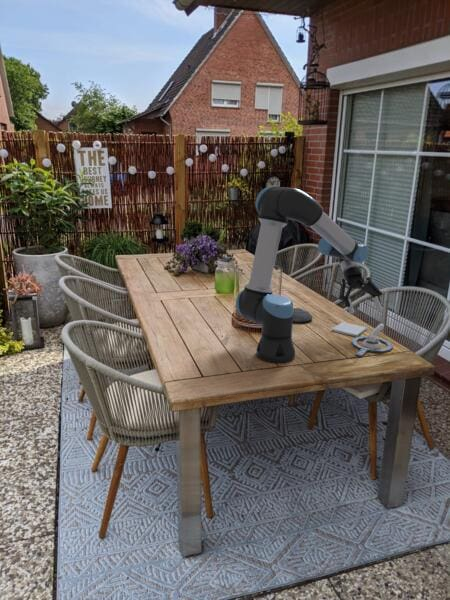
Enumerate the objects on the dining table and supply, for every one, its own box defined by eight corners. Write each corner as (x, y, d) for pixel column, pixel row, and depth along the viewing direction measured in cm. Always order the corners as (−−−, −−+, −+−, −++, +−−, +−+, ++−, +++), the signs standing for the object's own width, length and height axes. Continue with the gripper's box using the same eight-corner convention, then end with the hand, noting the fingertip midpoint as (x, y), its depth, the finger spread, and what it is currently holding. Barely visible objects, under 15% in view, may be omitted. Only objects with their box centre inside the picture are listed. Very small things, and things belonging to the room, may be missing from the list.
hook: (397, 337, 182) (386, 329, 179) (376, 357, 186) (365, 350, 183) (389, 327, 188) (378, 319, 185) (369, 347, 192) (358, 339, 190)
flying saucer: (287, 312, 228) (287, 302, 226) (315, 317, 222) (316, 306, 220) (277, 321, 215) (277, 310, 213) (307, 326, 209) (308, 315, 207)
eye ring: (378, 361, 171) (378, 359, 171) (339, 351, 180) (339, 349, 180) (397, 344, 188) (397, 342, 188) (360, 335, 198) (360, 333, 197)
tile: (356, 337, 195) (357, 334, 195) (331, 330, 202) (331, 328, 202) (366, 329, 205) (367, 327, 204) (342, 323, 212) (342, 321, 211)
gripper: (371, 272, 207) (387, 313, 198) (322, 275, 200) (337, 318, 191) (379, 264, 200) (396, 305, 191) (329, 267, 194) (344, 310, 184)
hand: (366, 312), depth 191 cm, fingers open, 13 cm apart
